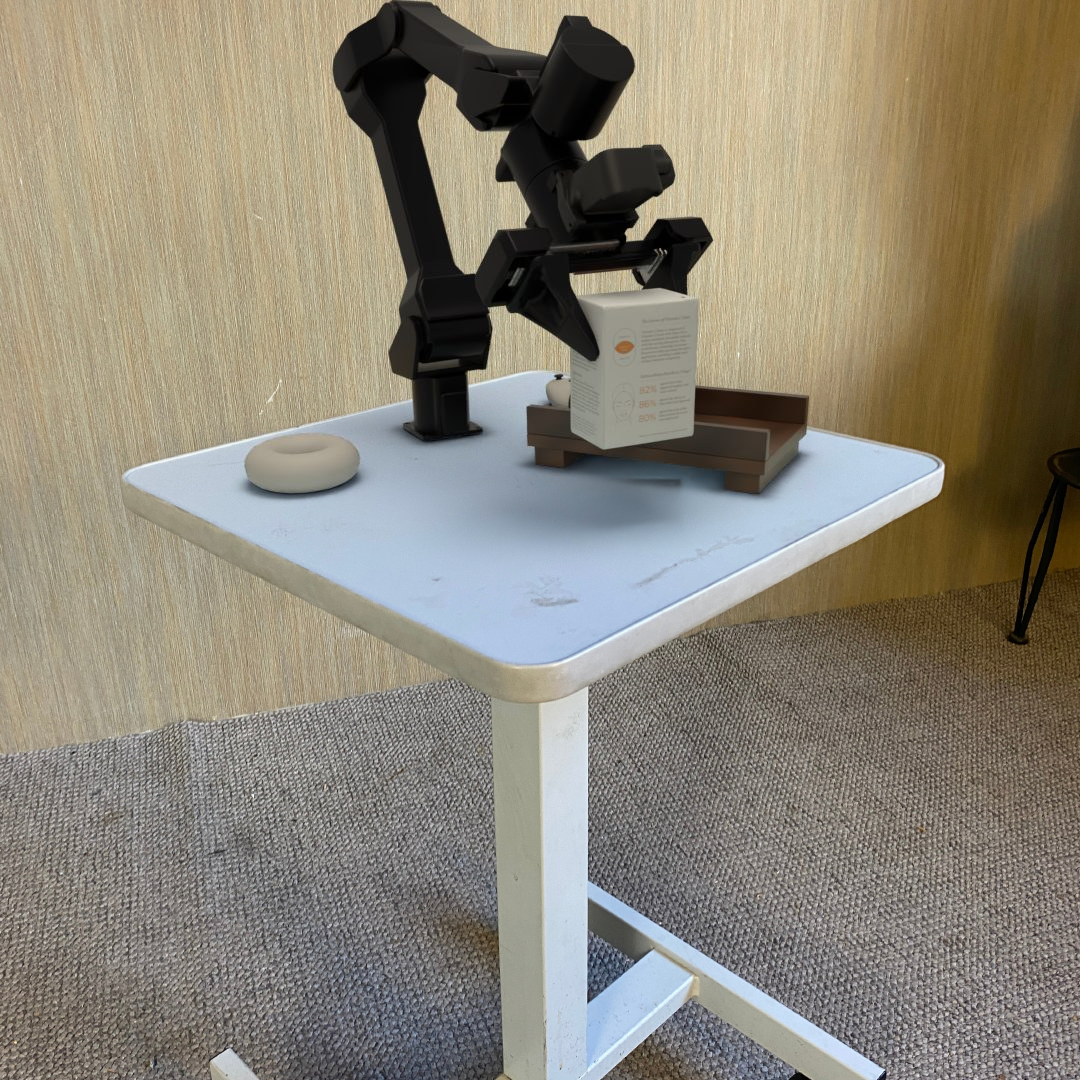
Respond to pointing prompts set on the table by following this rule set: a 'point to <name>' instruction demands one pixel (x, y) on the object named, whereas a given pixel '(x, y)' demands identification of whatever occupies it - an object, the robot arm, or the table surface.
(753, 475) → the tray
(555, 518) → the table surface
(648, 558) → the table surface
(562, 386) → the game controller
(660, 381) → the small box
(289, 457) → the donut
